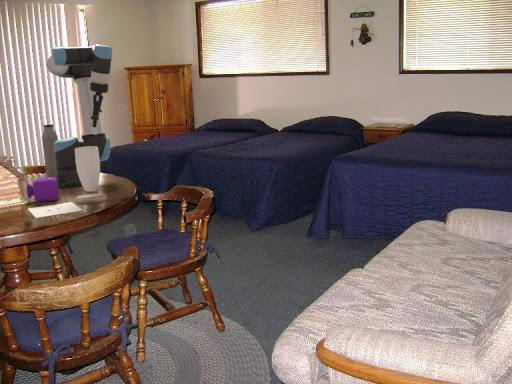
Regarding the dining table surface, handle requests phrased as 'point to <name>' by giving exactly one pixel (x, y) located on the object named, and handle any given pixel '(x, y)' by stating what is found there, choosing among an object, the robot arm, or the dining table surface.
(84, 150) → the cup
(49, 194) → the toy camera
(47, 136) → the thermos bottle
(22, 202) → the dining table surface
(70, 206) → the board
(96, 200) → the coaster
